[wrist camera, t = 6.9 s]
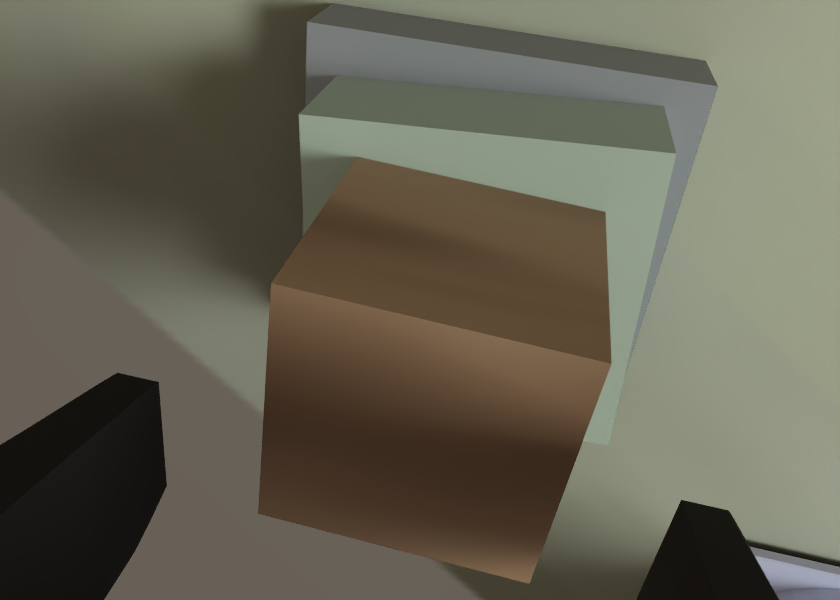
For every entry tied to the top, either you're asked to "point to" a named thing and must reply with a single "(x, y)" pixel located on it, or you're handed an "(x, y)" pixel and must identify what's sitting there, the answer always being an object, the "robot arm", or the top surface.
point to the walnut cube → (434, 366)
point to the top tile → (511, 169)
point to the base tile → (517, 77)
